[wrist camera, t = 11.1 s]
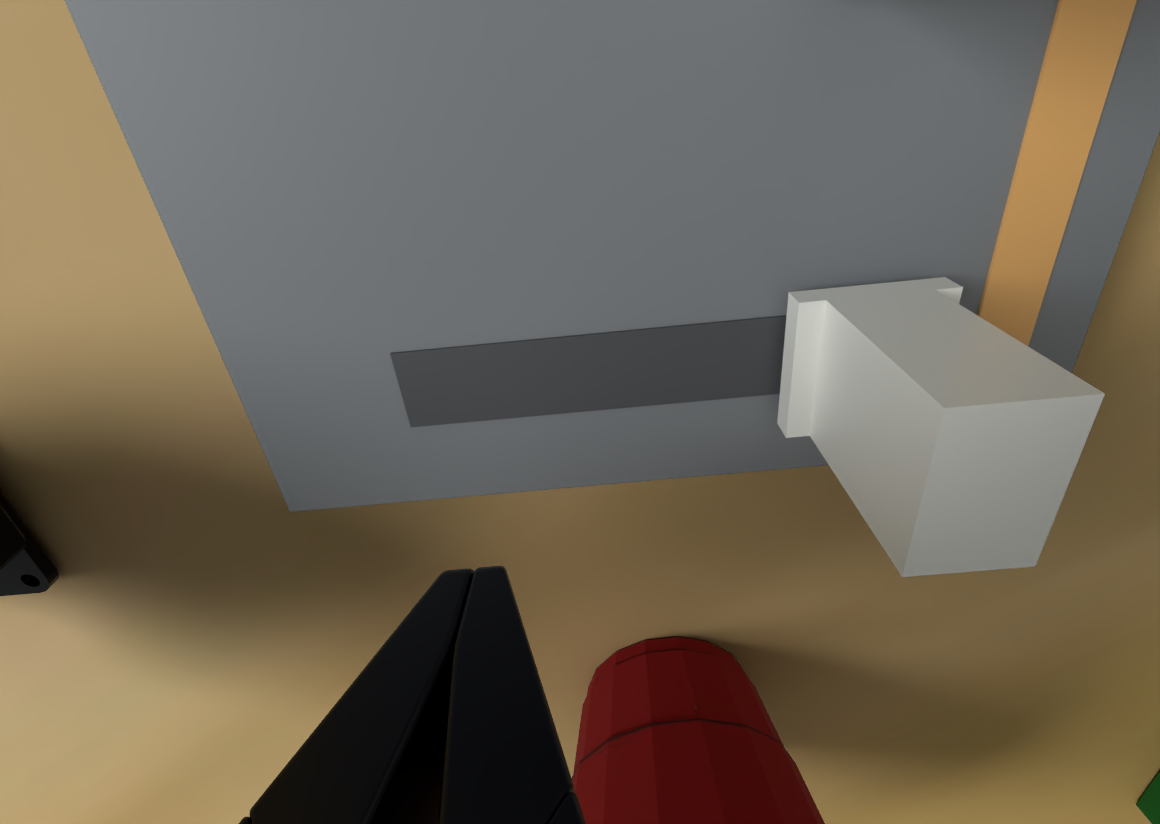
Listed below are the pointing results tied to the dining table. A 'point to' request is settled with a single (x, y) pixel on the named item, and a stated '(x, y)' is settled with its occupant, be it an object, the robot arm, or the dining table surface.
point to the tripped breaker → (933, 422)
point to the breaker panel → (606, 209)
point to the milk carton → (1151, 801)
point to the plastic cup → (683, 743)
